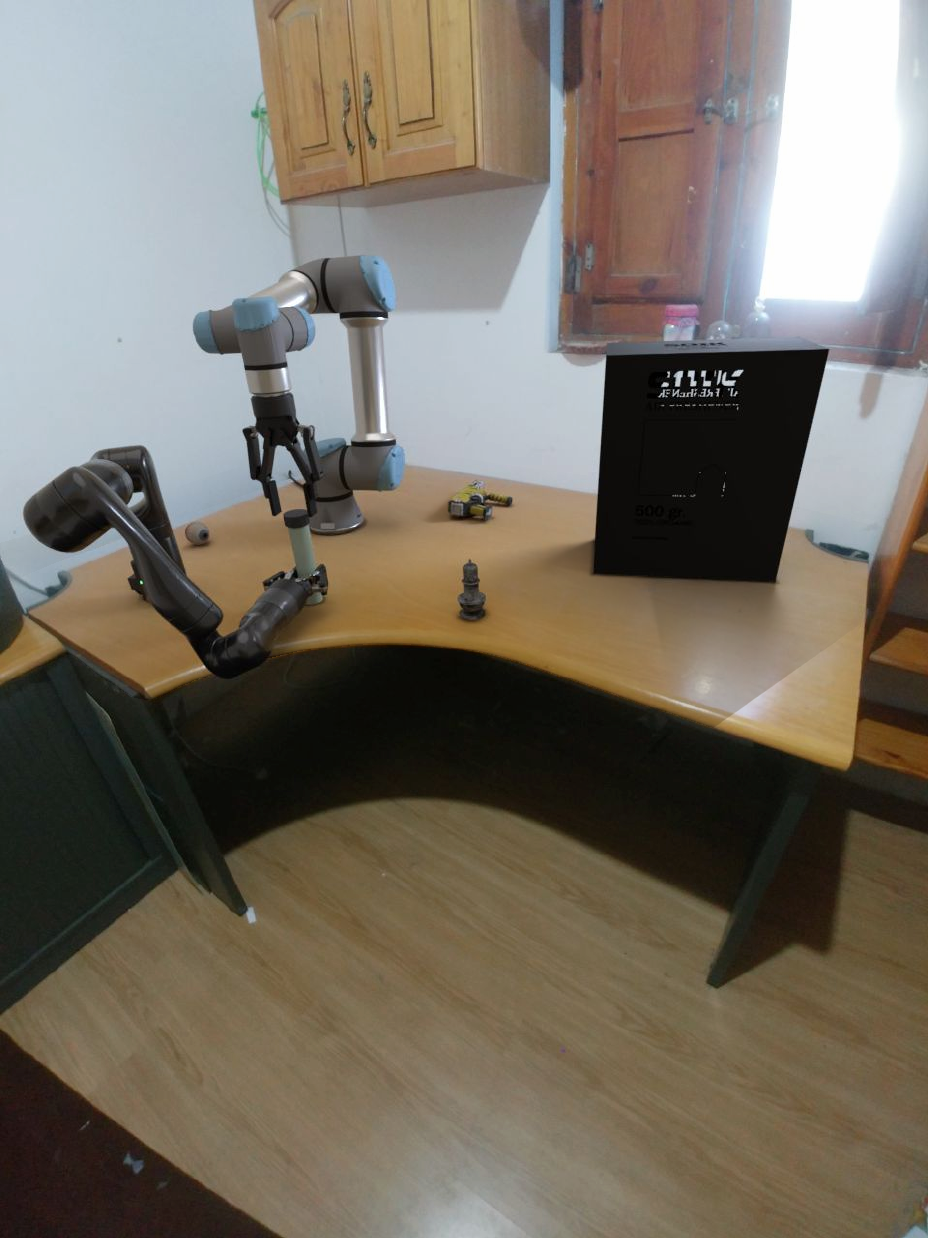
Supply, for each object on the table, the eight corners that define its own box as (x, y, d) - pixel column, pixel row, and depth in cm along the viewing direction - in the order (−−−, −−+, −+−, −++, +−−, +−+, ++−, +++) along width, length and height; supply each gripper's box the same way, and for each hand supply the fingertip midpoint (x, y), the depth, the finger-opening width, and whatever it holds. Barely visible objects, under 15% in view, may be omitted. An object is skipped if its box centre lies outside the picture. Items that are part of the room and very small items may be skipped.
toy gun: (520, 484, 182) (474, 477, 186) (498, 508, 162) (446, 499, 166) (519, 500, 184) (473, 492, 188) (497, 524, 164) (445, 516, 168)
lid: (306, 527, 120) (304, 516, 118) (282, 528, 120) (280, 518, 119) (312, 518, 124) (310, 508, 123) (288, 519, 124) (286, 509, 123)
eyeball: (198, 549, 158) (192, 528, 155) (183, 545, 161) (177, 524, 158) (217, 541, 163) (211, 520, 160) (202, 538, 166) (196, 517, 163)
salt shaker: (484, 621, 119) (482, 566, 113) (455, 619, 120) (451, 564, 114) (489, 607, 124) (487, 553, 118) (461, 605, 125) (458, 552, 119)
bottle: (320, 604, 129) (303, 518, 119) (301, 605, 129) (283, 519, 119) (324, 595, 132) (308, 511, 123) (306, 596, 132) (288, 512, 123)
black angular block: (755, 543, 144) (798, 336, 121) (775, 581, 127) (829, 348, 104) (594, 538, 151) (606, 342, 129) (592, 573, 134) (606, 355, 112)
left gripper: (310, 589, 112) (341, 552, 127) (239, 587, 114) (278, 550, 129) (317, 624, 116) (346, 584, 130) (248, 621, 118) (285, 582, 133)
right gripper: (330, 388, 110) (348, 509, 122) (232, 390, 114) (258, 507, 126) (313, 396, 104) (334, 522, 115) (210, 397, 108) (240, 519, 119)
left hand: (312, 567), depth 130 cm, fingers closed on bottle, 4 cm apart
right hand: (294, 514), depth 120 cm, fingers open, 7 cm apart
